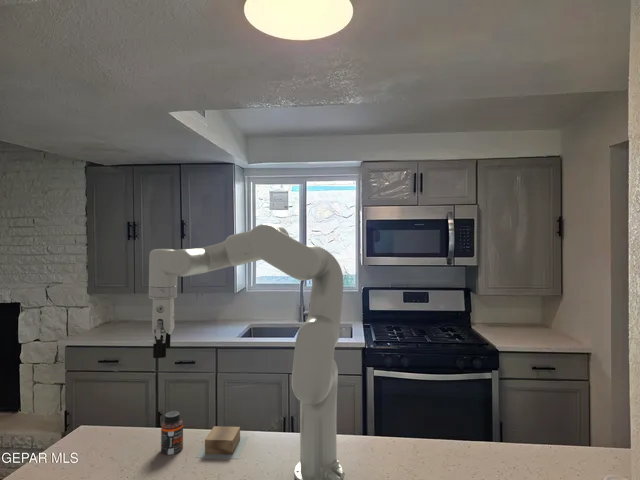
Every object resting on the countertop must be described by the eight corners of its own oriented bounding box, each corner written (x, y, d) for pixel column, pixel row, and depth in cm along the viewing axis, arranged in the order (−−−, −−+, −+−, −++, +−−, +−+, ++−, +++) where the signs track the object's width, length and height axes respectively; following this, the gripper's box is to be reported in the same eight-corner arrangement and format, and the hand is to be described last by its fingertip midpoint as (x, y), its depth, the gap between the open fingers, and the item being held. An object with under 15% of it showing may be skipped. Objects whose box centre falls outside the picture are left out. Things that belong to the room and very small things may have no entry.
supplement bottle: (175, 459, 110) (175, 419, 110) (156, 457, 112) (156, 417, 111) (187, 448, 116) (186, 410, 116) (168, 446, 117) (168, 408, 117)
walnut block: (240, 440, 119) (240, 426, 119) (232, 454, 111) (232, 440, 111) (214, 439, 120) (214, 426, 120) (204, 453, 112) (204, 439, 112)
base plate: (248, 440, 121) (248, 437, 121) (237, 462, 109) (237, 458, 109) (209, 439, 122) (209, 435, 122) (195, 461, 110) (195, 457, 110)
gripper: (173, 296, 104) (172, 361, 105) (180, 288, 121) (179, 343, 121) (143, 297, 103) (142, 362, 103) (153, 288, 119) (152, 345, 119)
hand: (162, 352), depth 112 cm, fingers open, 9 cm apart
